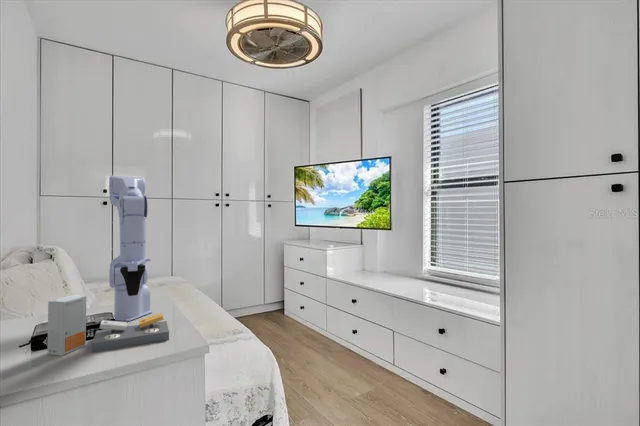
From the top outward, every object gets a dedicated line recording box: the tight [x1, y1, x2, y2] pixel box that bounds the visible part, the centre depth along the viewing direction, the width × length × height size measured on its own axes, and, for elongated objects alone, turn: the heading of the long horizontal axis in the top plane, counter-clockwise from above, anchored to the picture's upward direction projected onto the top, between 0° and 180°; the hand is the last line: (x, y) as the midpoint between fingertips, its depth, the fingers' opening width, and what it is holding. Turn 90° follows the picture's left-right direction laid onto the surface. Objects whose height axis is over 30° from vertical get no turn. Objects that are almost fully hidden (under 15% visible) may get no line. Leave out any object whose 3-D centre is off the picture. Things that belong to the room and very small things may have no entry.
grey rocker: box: [99, 319, 128, 330], centre depth 83 cm, size 6×3×1 cm, turn 119°
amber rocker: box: [138, 312, 164, 328], centre depth 87 cm, size 6×3×1 cm, turn 118°
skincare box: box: [47, 294, 87, 356], centre depth 76 cm, size 6×4×12 cm
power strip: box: [91, 320, 170, 353], centre depth 83 cm, size 16×9×3 cm, turn 119°
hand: (133, 294), depth 86 cm, fingers closed
